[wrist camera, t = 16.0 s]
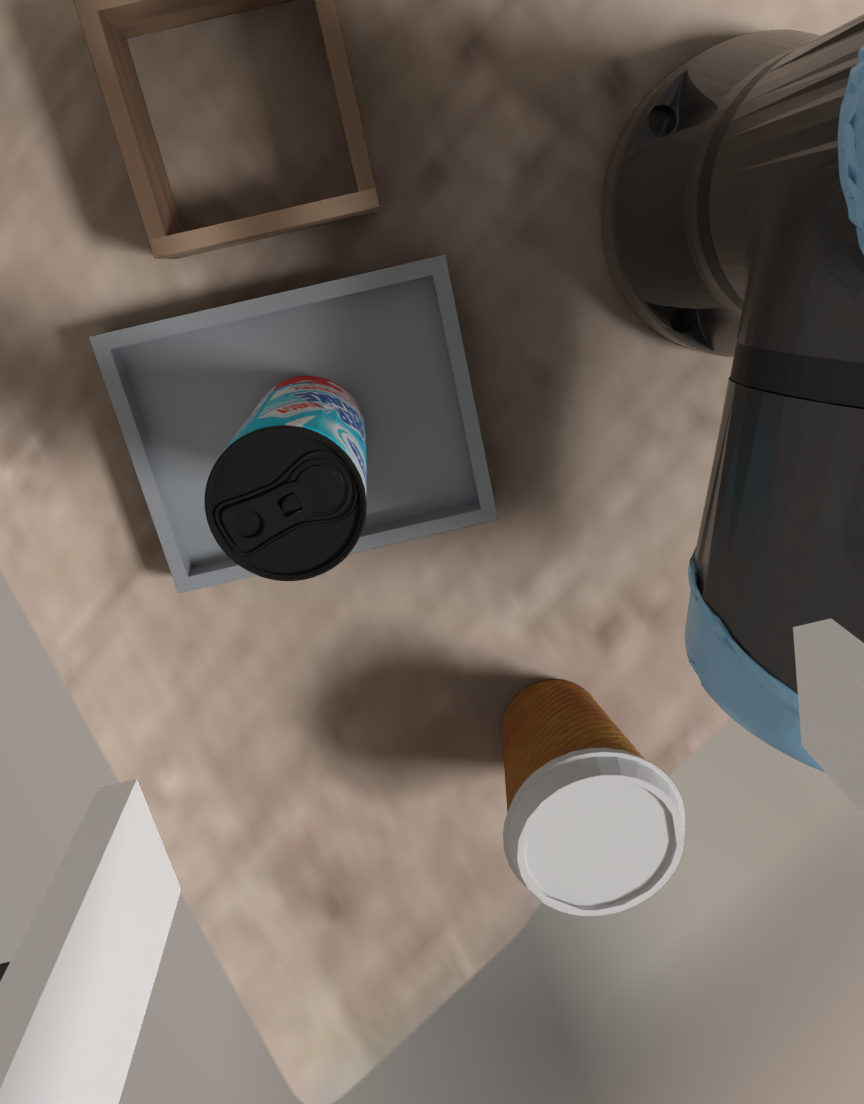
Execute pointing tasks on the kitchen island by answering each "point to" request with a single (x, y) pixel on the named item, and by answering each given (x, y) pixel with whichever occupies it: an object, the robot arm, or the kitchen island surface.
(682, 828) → the disposable coffee cup
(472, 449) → the grey tray
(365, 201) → the walnut holder
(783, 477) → the robot arm
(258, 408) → the beverage can
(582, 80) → the kitchen island surface
